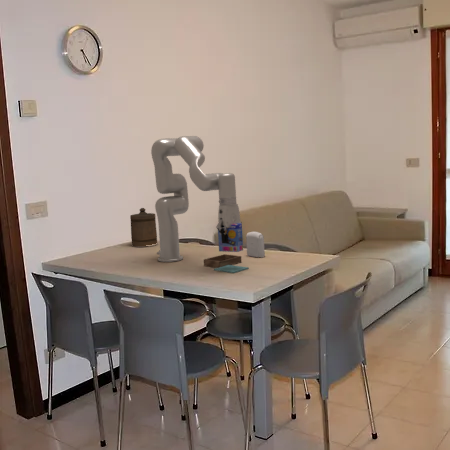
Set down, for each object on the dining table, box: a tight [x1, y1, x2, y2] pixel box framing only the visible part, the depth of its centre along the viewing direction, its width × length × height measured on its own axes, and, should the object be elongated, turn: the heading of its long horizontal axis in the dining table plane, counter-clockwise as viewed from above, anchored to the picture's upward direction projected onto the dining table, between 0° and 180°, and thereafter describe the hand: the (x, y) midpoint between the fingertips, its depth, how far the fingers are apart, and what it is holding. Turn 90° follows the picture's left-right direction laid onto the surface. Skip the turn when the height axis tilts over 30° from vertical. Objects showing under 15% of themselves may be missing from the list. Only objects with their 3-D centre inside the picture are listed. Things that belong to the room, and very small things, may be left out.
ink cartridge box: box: [217, 223, 244, 253], centre depth 246 cm, size 10×6×14 cm, turn 63°
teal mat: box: [213, 264, 249, 274], centre depth 248 cm, size 12×10×1 cm
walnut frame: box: [203, 253, 242, 268], centre depth 261 cm, size 11×15×3 cm
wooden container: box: [130, 207, 158, 247], centre depth 326 cm, size 15×15×22 cm
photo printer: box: [245, 231, 266, 258], centre depth 275 cm, size 10×4×12 cm, turn 39°
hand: (230, 241), depth 246 cm, fingers closed on ink cartridge box, 6 cm apart
